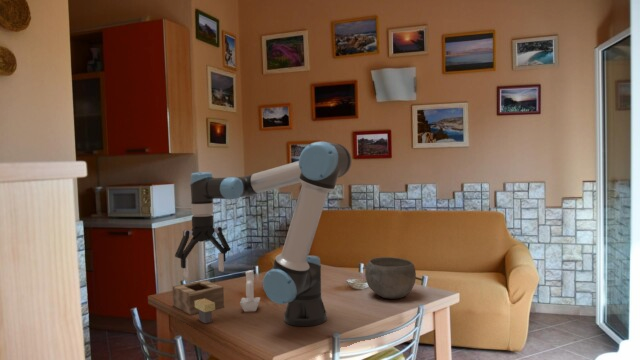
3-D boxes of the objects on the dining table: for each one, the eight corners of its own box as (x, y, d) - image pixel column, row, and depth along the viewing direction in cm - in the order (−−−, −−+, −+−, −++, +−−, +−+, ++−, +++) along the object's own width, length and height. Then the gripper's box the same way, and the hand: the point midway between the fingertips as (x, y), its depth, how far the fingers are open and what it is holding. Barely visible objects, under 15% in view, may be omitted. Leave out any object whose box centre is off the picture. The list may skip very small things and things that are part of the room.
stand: (211, 321, 163) (211, 309, 163) (205, 323, 161) (204, 310, 161) (205, 318, 167) (204, 306, 167) (198, 320, 165) (198, 307, 165)
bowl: (426, 299, 185) (425, 262, 184) (381, 306, 177) (380, 268, 177) (398, 287, 204) (398, 254, 204) (357, 293, 196) (356, 258, 196)
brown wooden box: (223, 307, 180) (223, 287, 180) (190, 315, 171) (189, 294, 171) (205, 299, 192) (204, 280, 192) (173, 306, 183) (172, 286, 183)
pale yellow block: (215, 309, 162) (215, 302, 162) (204, 312, 160) (204, 305, 160) (204, 305, 168) (204, 298, 168) (194, 307, 166) (194, 300, 166)
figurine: (239, 313, 171) (238, 274, 171) (242, 306, 181) (241, 268, 181) (259, 313, 172) (258, 273, 172) (260, 305, 181) (259, 268, 181)
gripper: (228, 211, 175) (230, 267, 175) (164, 217, 159) (166, 277, 159) (238, 213, 169) (239, 270, 170) (172, 218, 153) (174, 281, 154)
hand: (204, 274), depth 165 cm, fingers open, 13 cm apart
